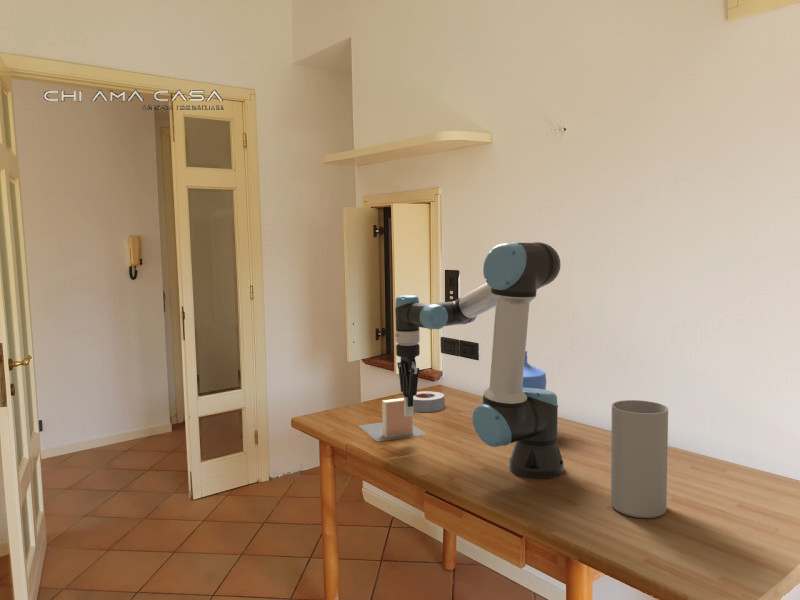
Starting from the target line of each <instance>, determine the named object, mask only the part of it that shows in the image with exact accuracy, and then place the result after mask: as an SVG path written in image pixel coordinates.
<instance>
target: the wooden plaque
mask: <svg viewBox="0 0 800 600" xmlns="http://www.w3.org/2000/svg"><path fill="white" fill-rule="evenodd" d="M381 415H382V423H383V436H384V437H386V438H387V437H394V436H401V435H408V434H413V425H414V416H408V417H406V416H404V397H400V398H399V397H398V398H391V399H383V400H381Z"/></svg>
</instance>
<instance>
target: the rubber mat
mask: <svg viewBox="0 0 800 600" xmlns="http://www.w3.org/2000/svg"><path fill="white" fill-rule="evenodd" d="M358 427H359V428H360V429H362V430H363V431H364V432H365V433H366V434H368V435H369V436H370V437H371V438H372V439H373V440H375V441H376V442H384V441H389V440H398V439H406V438H412V437H417V436H418V437H419V436H425V435H426V436H427V433H426V432H424V431H423V430H421V429H420V428H418V427H417V426H415V425H414V424H413V434H408V435H401V436H394V437H387V438H386V437H384V436H383V423H382V422H375V423H369V424H366V423H365V424H360V425H359V424H358Z"/></svg>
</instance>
